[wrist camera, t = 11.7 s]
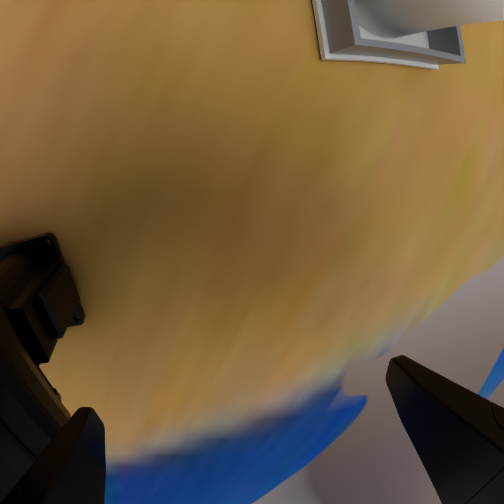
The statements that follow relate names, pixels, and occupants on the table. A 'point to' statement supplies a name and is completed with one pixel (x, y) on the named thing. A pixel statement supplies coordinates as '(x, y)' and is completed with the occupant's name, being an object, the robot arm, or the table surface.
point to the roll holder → (381, 40)
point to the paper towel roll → (423, 15)
